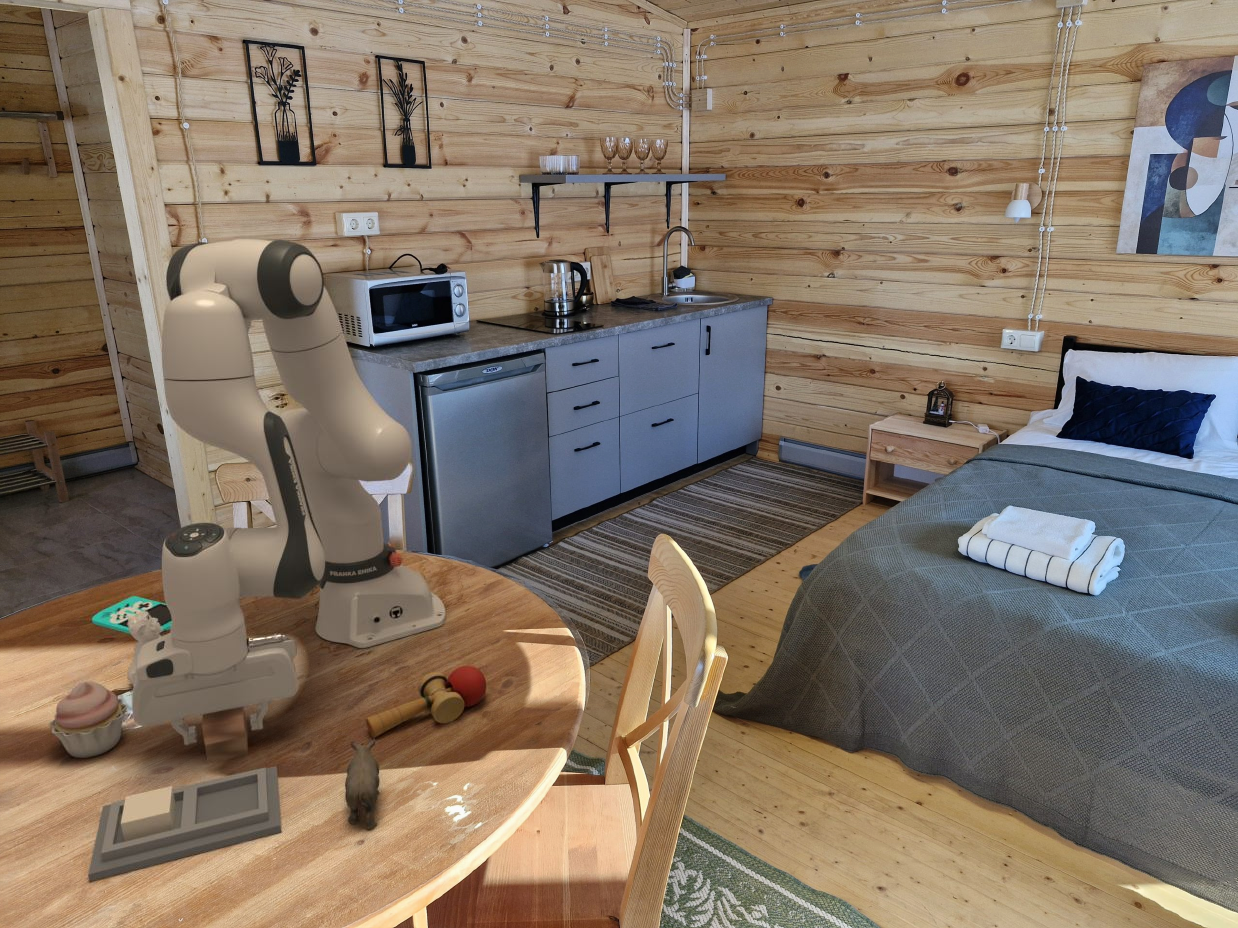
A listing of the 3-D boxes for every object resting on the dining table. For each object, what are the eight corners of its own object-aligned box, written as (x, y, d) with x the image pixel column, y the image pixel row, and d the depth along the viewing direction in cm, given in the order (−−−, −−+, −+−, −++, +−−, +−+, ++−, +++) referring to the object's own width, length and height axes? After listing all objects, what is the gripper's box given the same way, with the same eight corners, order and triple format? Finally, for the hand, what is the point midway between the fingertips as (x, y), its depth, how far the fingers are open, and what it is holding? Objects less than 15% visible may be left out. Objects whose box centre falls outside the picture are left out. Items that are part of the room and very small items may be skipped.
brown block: (247, 734, 121) (242, 697, 119) (248, 754, 116) (242, 717, 114) (209, 742, 119) (203, 705, 117) (208, 763, 114) (201, 725, 112)
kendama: (385, 760, 117) (499, 703, 127) (372, 720, 116) (489, 665, 125) (368, 740, 124) (478, 687, 133) (356, 702, 122) (468, 651, 132)
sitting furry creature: (200, 680, 134) (189, 612, 130) (141, 703, 128) (128, 632, 124) (177, 658, 140) (165, 593, 136) (119, 679, 134) (106, 611, 130)
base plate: (277, 772, 113) (273, 746, 111) (281, 831, 102) (277, 804, 101) (104, 812, 105) (98, 785, 104) (89, 881, 95) (83, 852, 93)
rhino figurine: (381, 759, 116) (378, 721, 114) (381, 829, 103) (377, 787, 101) (350, 764, 115) (346, 725, 113) (346, 835, 102) (341, 793, 100)
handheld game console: (135, 600, 161) (134, 594, 160) (198, 616, 155) (197, 609, 154) (86, 624, 152) (84, 617, 151) (150, 641, 146) (149, 634, 146)
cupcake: (77, 775, 112) (63, 709, 109) (42, 751, 117) (27, 687, 113) (147, 738, 119) (135, 676, 116) (111, 717, 124) (98, 657, 121)
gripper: (293, 620, 119) (303, 705, 123) (127, 648, 111) (144, 738, 116) (295, 641, 114) (306, 730, 118) (121, 672, 106) (139, 765, 110)
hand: (224, 734), depth 117 cm, fingers open, 7 cm apart
